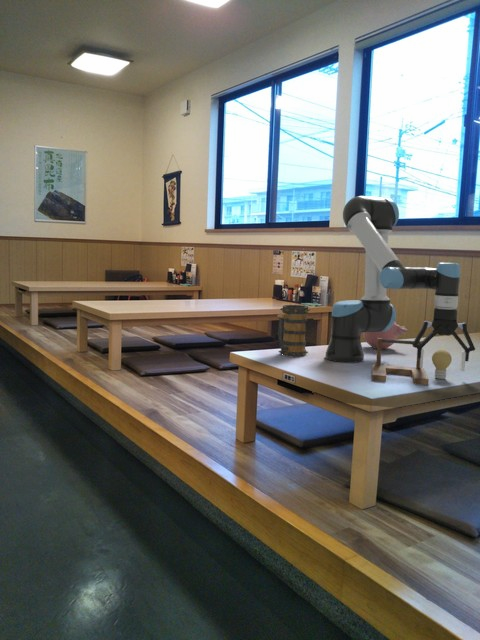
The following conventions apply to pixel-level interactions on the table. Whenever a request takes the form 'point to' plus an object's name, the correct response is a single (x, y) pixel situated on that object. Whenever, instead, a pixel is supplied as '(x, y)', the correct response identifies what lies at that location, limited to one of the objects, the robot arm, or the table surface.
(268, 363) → the table surface
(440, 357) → the light bulb
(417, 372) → the wooden rack frame
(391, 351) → the table surface
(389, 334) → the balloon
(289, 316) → the mug
